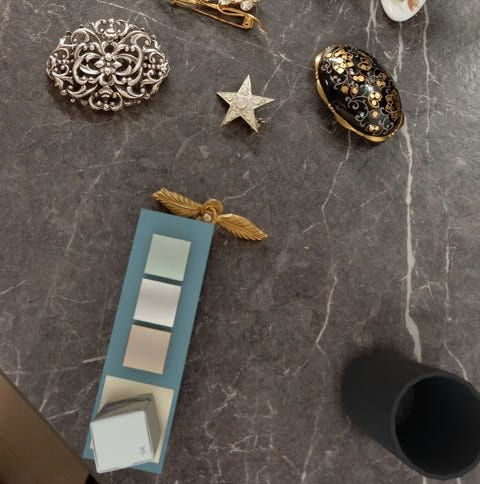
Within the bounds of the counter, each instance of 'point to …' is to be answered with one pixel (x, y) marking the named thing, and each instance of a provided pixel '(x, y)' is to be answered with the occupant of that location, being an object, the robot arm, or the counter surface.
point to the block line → (152, 328)
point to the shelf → (181, 329)
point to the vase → (416, 413)
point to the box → (125, 433)
